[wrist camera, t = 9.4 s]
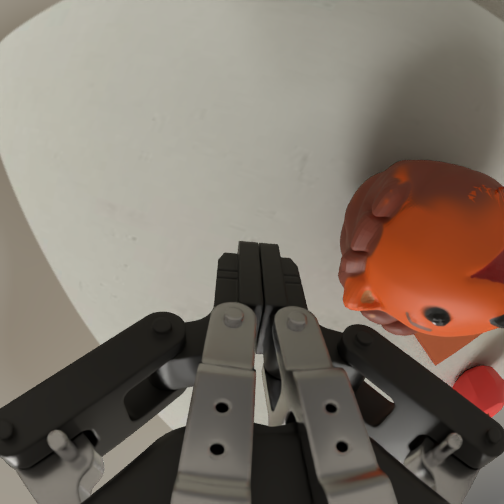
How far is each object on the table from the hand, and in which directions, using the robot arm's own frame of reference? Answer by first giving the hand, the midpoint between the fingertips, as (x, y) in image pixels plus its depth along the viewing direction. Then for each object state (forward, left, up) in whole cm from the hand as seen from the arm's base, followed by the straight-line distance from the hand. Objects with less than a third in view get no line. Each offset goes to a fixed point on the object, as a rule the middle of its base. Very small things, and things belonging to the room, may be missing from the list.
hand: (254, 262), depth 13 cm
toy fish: (-7, +8, -7) cm, 13 cm away
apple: (-5, +37, -7) cm, 38 cm away
